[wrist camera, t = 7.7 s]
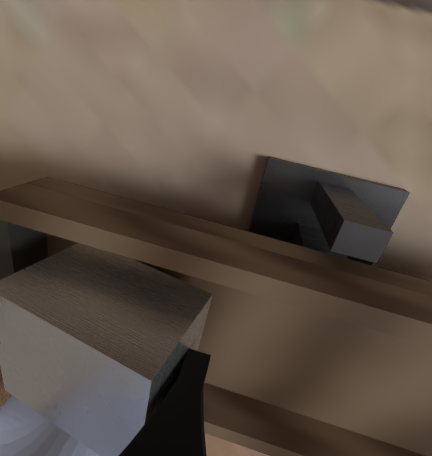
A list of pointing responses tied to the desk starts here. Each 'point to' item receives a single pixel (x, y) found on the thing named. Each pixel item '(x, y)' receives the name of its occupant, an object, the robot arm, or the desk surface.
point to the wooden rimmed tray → (263, 322)
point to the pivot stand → (326, 210)
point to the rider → (96, 341)
